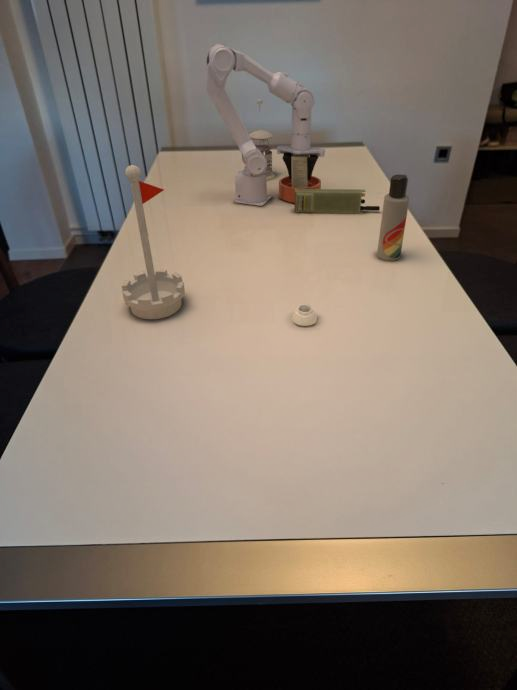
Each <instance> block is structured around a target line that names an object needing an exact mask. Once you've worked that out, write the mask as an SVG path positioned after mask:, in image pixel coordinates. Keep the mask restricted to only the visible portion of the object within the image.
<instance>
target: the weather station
mask: <svg viewBox="0 0 517 690" xmlns="http://www.w3.org/2000/svg"><path fill="white" fill-rule="evenodd" d="M256 104H258V105H259V107H258V108H259V109H258V110H259V111H261V104H263V100H262V99H261V98H259V99H257V100H256ZM249 136H250V138H251V140H252V141H253V140H255V141H259V144H258V145H257V144H254V145H255V146H256V147H257V148H259V149H260V151H261V153H262V155H263V156H264V157H265V158H266V160H267V168H266V180H267V181H269V180H272V179H274V178H275V177H276V175H275V173H274V172H273V152H272V150H271V149H272V147H271V146H270V145H269V143H270V142H269V140H270V139H272V137H273V134H272V133H270V132H269V131H266V130H265V129H264V130H263V129H261V125H259V130H255V131H253V132H251V133H250V134H249ZM265 142H267V144H265ZM262 143H263V144H262Z"/></svg>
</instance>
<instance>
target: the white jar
mask: <svg viewBox="0 0 517 690" xmlns="http://www.w3.org/2000/svg"><path fill="white" fill-rule="evenodd" d="M291 319H292V322H293V323H294V324H295V325H297V326H301V327H305V326H306V327H308V326H312V325H314V324H315V323H317V321H318V315H317V314H316V311H314V309H313V306H312V305H310V304H300V305H298V306H297V308H296V309H295V311H294V313H293V315H292V316H291Z"/></svg>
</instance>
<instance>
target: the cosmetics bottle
mask: <svg viewBox="0 0 517 690" xmlns="http://www.w3.org/2000/svg"><path fill="white" fill-rule="evenodd" d="M308 157H309V155H295V154H293V155H292V157H291V172H292V187H293V188H307V187H308V186H309V180H308V178H307V175H308V163H307V158H308Z"/></svg>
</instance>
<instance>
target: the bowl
mask: <svg viewBox="0 0 517 690" xmlns="http://www.w3.org/2000/svg"><path fill="white" fill-rule="evenodd" d="M295 189H322V180H321V178H319V177H317V176H315V175H312V176H311V179H310V180H309V186H308V187H307V188H293V187H292V179H289V175H286V176H284V177H282V178H280V179H279V180H278V197H279V198H280V199H281V200H283V201H285V202H287V203H290V204H291V203H293V204H295Z"/></svg>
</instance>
